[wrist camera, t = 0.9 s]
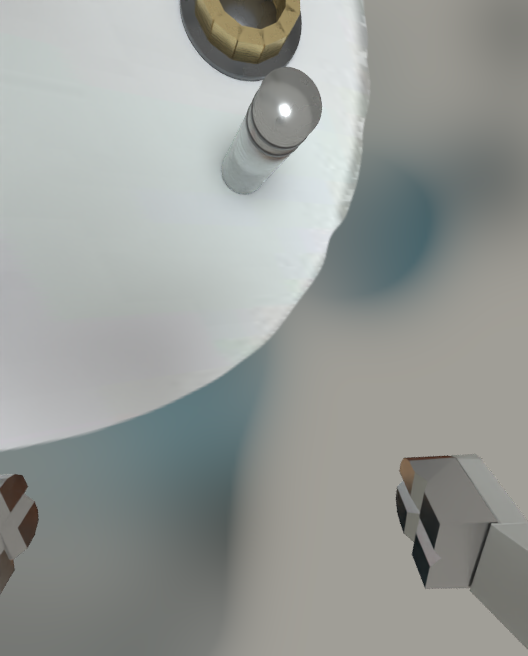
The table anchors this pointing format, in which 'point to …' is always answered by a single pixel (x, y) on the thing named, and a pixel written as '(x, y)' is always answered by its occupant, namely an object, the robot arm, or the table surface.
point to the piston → (271, 128)
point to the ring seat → (243, 34)
